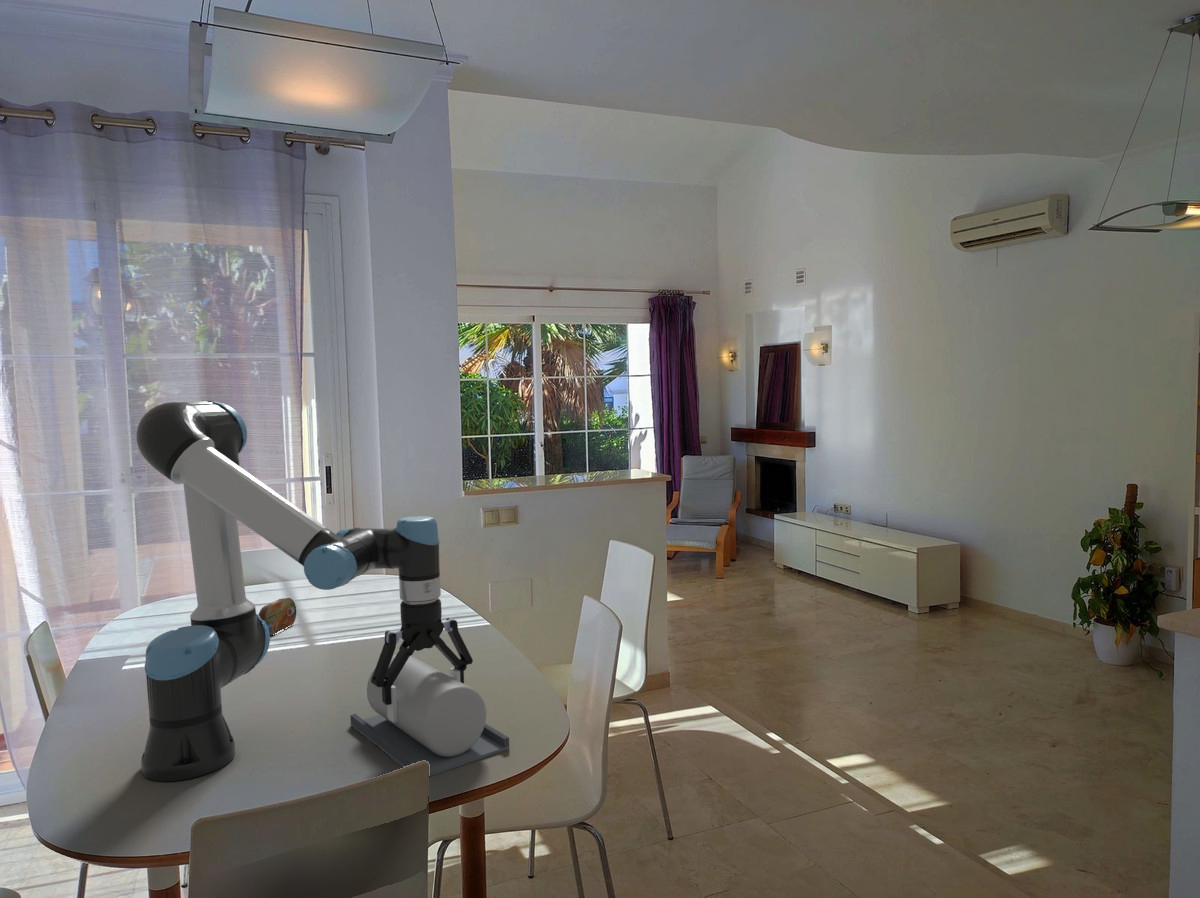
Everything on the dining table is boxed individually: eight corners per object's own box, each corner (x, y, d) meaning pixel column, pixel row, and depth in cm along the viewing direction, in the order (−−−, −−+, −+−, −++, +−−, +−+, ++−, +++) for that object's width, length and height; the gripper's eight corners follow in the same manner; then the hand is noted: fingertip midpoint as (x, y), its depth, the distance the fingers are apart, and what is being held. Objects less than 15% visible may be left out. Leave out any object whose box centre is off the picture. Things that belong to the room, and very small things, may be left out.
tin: (267, 639, 224) (265, 608, 223) (256, 639, 224) (254, 608, 224) (298, 623, 238) (296, 594, 238) (288, 623, 239) (286, 594, 238)
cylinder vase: (446, 677, 146) (386, 644, 165) (413, 746, 142) (355, 705, 162) (499, 700, 153) (435, 666, 172) (468, 766, 149) (406, 724, 169)
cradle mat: (509, 749, 152) (508, 737, 152) (418, 780, 141) (417, 767, 141) (433, 702, 175) (433, 692, 175) (350, 725, 164) (350, 714, 164)
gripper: (365, 615, 145) (371, 735, 147) (487, 591, 160) (491, 700, 162) (349, 607, 151) (354, 722, 153) (468, 585, 166) (472, 690, 168)
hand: (425, 711), depth 157 cm, fingers closed on cylinder vase, 12 cm apart
